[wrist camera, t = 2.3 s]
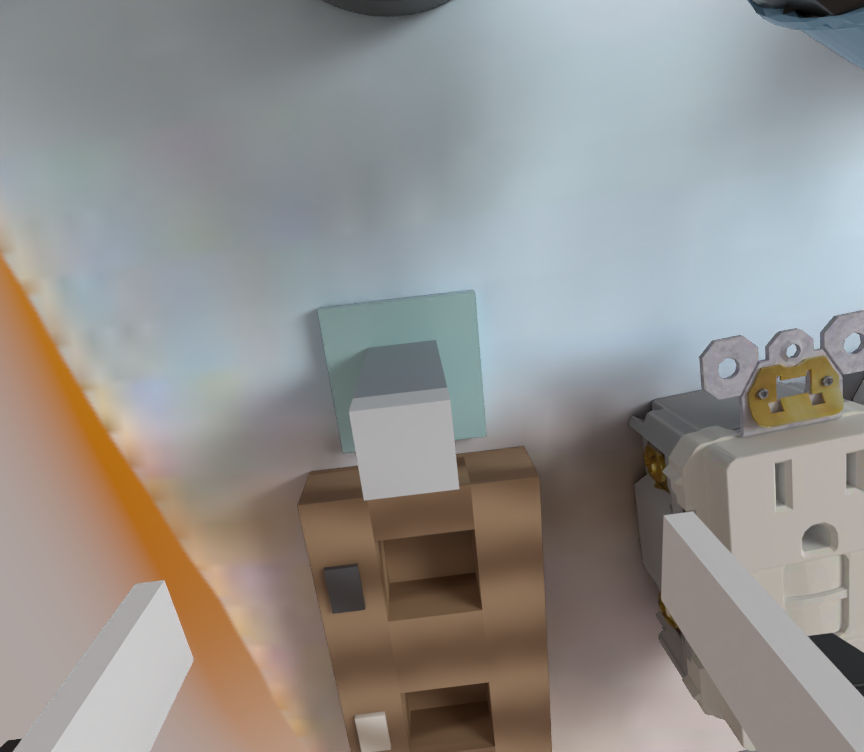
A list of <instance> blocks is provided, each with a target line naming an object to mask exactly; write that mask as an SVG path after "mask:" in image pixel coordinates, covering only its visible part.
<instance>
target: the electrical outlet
mask: <svg viewBox="0 0 864 752" xmlns="http://www.w3.org/2000/svg"><path fill="white" fill-rule="evenodd" d="M852 333H857V334H859V335H860V340H861V343H860V345H859V347H858V349H856V350H855V351H854V352H852V353H846V351H845V350H844V348H843V347H844V342H845V339H846V338H847V337H848V336H849V335H850V334H852ZM792 344H795V345H796V348H797V351H796V353H795V354H794V356H791V357H788V356H787V355H786V351H787V348H788V347H789V346H790V345H792ZM765 354H766V359H765V360H760V361H758V347H757V346H756V345H755V344H753V343H752V342H750V341H749V340H748V339H746V338H745V337H744V336H741V335H738V336H733V337H728V338H723V339H718V340H713V341H711V343H710V344H709V345H708V346H707V348H706V349H705V350H704V352H703V353H702V354H701V355H700V357H699V359H700V373H701V386H702V389H704V390H699V391H694V392H689V393H684V394H679V395H674V396H669V397H664V398H659V399H656V400H654V401H653V402H652V411H650V412H648V413H647V414H646V417H645V419H640V418H637V417H635V416H632V417H631V418H630V420H629V422H628V425H629V426H631V427H632V428H633V429H634V430H636V431H637V432H638V433H639V434H640V435H642V440H643V449H644V454H643V457H644V463H645V468H646V473H647V474H646V475H645V476H644V477H643V478H642V479H640V480H639V481H638V482H637V483H636V484H635V485H634V487H635V496H636V505H637V514H638V524H639V533H640V542H641V551H642V560H643V566H644V568H645V569H646V570H647V572H648V573H649V575H650V576H651V577H652V579H653V580H654V581H655V583H656V584H657V586H658V593H659V598H658V599H659V606H660V611H659V612H657V613H656V617H657V618H658V620H659V621H660V623H661V624H662V626H663V627H662V628H663V630H664V631H662V632H661V633H660V634H659V640H660V643H661V644H662V646H663V648H664V649H665V651H666V652H667V654H668V656H669V657H670V659H671V660H672V662H673V664H674V665H675V667H676V668H677V670H678V672H679V673H680V675H681V676H682V678H683V679H682V680H683V682H684V684H685V685H686V687H687V689H688V690H689V692H690V693H691V695H692V697H693V698H694V699H695V700H697V702H698V703H699V705H700V707H701V708H702V710H703V711H704V713H705V714H707V715H713V716H715V717H717V718H720V719H724V720H725V721H726V722H727V724H728V725H729V727H730V728H731V730H732V731H733V733H734V734H735V736H736V737H737V739H738V740H739V742H740V743H741V745H742V746H743V747H744V748H745V749H747V750H744V751H739V752H757V750H756V748H755V747H754V745H753V744H752V742H751V740H750V739H749V737H748V736H747V734H746V733H745V731H744V729H743V728H742V726H741V725H740V723H739V722H738V720H737V718H736V717H735V715H734V714H733V712H732V711H731V709H730V707H729V706H728V704H727V703H726V701H725V699H724V698H723V696H722V695H721V693H720V692H719V690H718V688H717V687H716V685H715V684H714V682H713V681H712V679H711V677H710V676H709V674H708V673H707V671H706V670H705V668H704V666H703V665H702V663H701V662H700V660H699V658H698V657H697V655H696V654H695V652H694V651H693V649H692V647H691V646H690V644H689V643H688V641H687V640H686V638H685V636H684V635H683V633H682V632H681V630H680V629H679V627H678V625H677V624H676V622H675V621H674V619H673V617H672V616H671V614H670V613H669V611H668V610H667V608H666V606H665V605H664V603H663V602H662V600H661V583H662V550H663V518H664V515H670V514H677V513H685V512H694V513H695V514H696V515H697V517H698V518H699V519H700V520H701V521H702V522H703V523H704V524H705V525H706V526H707V527H708V529H709V530H710V531H711V532H712V533H713V534H714V535H715V536H716V537H717V538H718V539H719V540H720V542H721V543H722V544H723V545H724V546H725V547H726V548H727V549H728V550H729V551H730V552H731V554H732V555H733V556H734V557H735V558H736V559H737V560H738V561H739V562H740V563H741V564H742V565H743V567H744V568H745V569H746V570H747V571H748V572H749V573H750V574H751V575H752V576H753V577H754V578H755V580H756V581H757V582H758V583H759V584H760V585H761V586H762V587H763V588H764V589H765V590H766V592H767V593H768V594H769V595H770V596H771V597H772V598H773V599H774V600H775V601H776V602H777V603H778V605H779V606H780V607H781V608H782V609H783V610H784V611H785V612H786V613H787V614H788V615H789V616H790V618H791V619H792V620H793V621H794V622H795V623H796V624H797V625H798V626H799V627H800V628H801V630H802V631H803V632H804V633H805V634H806V635H807V636H811V635H819V634H826V633H833V634H835V635H837V636H838V637H840V638H841V639H843V640H845V641H846V642H848V643H849V644H851V645H852V646H854V647H856V648H857V649H859V650H860V651H862V652H863V653H864V406H863V405H860V404H858V403H855V402H852V401H849V400H846V399H843V377H842V376H841V374H843V375H845V374H850V373H855V372H860V371H864V311H863V310H861V311H856V312H851V313H847V314H842V315H837V316H834V317H833V318H832V319H831V320H830V321H829V323H828V324H827V325H826V326H825V327H824V329H823V330H822V331H821V332H820V349H815V350H814V342H813V338H812V337H810V336H809V335H808V334H807V333H805V332H804V331H803V330H800V329H797V328H795V329H790V330H784V331H779V332H778V333H776V334H775V335H774V337H773V338H772V339H771V340H770V342H769V343H768V344H767V345H766V346H765ZM726 358H732V359H735V362H736V365H737V366H736V371H735V372H734V373H733V374H732V375H731V376H730V377H727V378H721V377H720V376H719V373H718V367H719V364H720V363H721V362H722V361H724V360H725V359H726ZM778 376H780V380H786V379H791V378H796V377H801V376H806V386H805V385H802V384H799V383H792V382H791V383H789V384H782V383H779V382H776V380H777V378H778Z"/></svg>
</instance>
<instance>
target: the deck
mask: <svg viewBox="0 0 864 752" xmlns="http://www.w3.org/2000/svg"><path fill="white" fill-rule="evenodd" d="M317 312H318V317H319V323H320V328H321V334H322V339H323V345H324V351H325V356H326V362H327V367H328V373H329V378H330V384H331V390H332V395H333V401H334V406H335V412H336V417H337V423H338V429H339V434H340V440H341V445H342V451H343V453H349V452H356V451H355V445H354V439H353V433H352V427H351V422H350V416H349V410H350V406H351V403H352V399H353V396H354V393H355V389H356V386H357V382H358V379H359V376H360V372H361V369H362V365H363V362H364V359H365V355H366V352H367V349H368V348H370V347H379V346H388V345H396V344H405V343H414V342H422V341H431V340H436V342H437V346H438V350H439V355H440V359H441V363H442V367H443V371H444V376H445V380H446V384H447V388H448V392H449V397H450V402H451V412H452V422H453V431H454V440H459V439H467V438H476V437H484V436H487V434H486V422H485V409H484V397H483V384H482V372H481V359H480V347H479V334H478V322H477V309H476V297H475V292H474V290H467V291H458V292H449V293H441V294H432V295H423V296H414V297H406V298H397V299H388V300H379V301H371V302H362V303H353V304H345V305H336V306H327V307H320V308H319V309H318V310H317Z"/></svg>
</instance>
